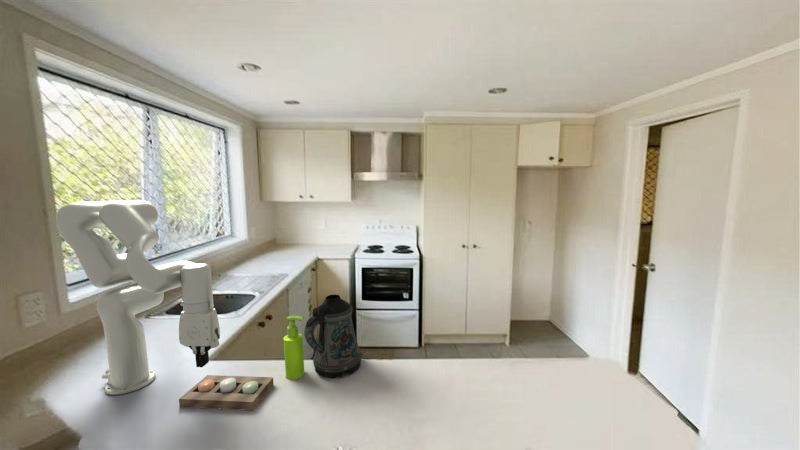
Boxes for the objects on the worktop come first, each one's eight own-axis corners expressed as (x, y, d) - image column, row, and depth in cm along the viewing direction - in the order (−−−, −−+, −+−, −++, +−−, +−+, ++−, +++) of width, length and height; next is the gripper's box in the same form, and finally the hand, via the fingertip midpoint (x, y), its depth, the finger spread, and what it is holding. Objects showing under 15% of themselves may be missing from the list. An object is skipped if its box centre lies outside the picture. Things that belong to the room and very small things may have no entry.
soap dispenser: (301, 380, 105) (298, 320, 102) (282, 378, 106) (278, 319, 104) (310, 370, 110) (307, 313, 108) (291, 368, 112) (288, 312, 110)
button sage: (240, 397, 95) (239, 389, 95) (248, 388, 99) (247, 380, 99) (253, 397, 95) (253, 389, 94) (261, 389, 99) (260, 381, 99)
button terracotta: (195, 395, 97) (194, 387, 96) (205, 387, 101) (204, 379, 100) (208, 396, 96) (207, 388, 96) (217, 387, 100) (217, 379, 100)
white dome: (217, 393, 96) (216, 385, 95) (226, 385, 100) (225, 377, 100) (230, 394, 95) (230, 386, 95) (239, 385, 100) (238, 378, 99)
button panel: (179, 407, 93) (178, 398, 93) (208, 382, 105) (207, 375, 105) (253, 410, 91) (252, 402, 91) (273, 384, 103) (273, 377, 102)
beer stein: (367, 355, 120) (365, 289, 117) (350, 387, 101) (347, 308, 98) (325, 352, 123) (321, 287, 120) (300, 382, 104) (296, 306, 101)
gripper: (164, 309, 93) (169, 370, 95) (214, 311, 91) (218, 373, 93) (184, 300, 100) (188, 357, 102) (230, 302, 99) (233, 359, 101)
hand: (202, 364), depth 98 cm, fingers closed
